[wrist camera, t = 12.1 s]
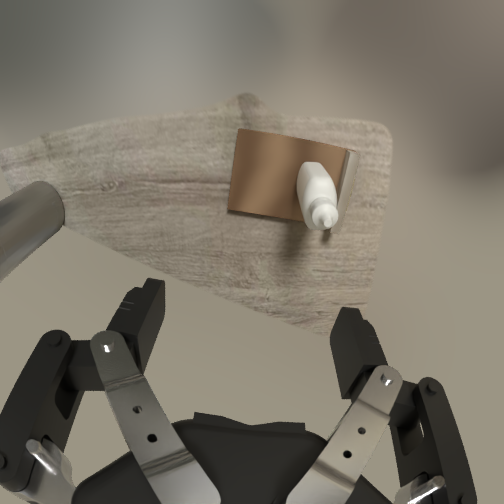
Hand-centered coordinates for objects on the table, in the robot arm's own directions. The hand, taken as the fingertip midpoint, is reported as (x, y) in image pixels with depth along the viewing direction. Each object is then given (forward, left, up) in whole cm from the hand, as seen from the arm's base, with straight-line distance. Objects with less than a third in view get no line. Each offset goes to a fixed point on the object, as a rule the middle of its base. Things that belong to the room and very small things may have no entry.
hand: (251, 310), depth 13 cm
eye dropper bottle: (+6, 0, -25) cm, 26 cm away
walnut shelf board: (+3, 0, -26) cm, 26 cm away
